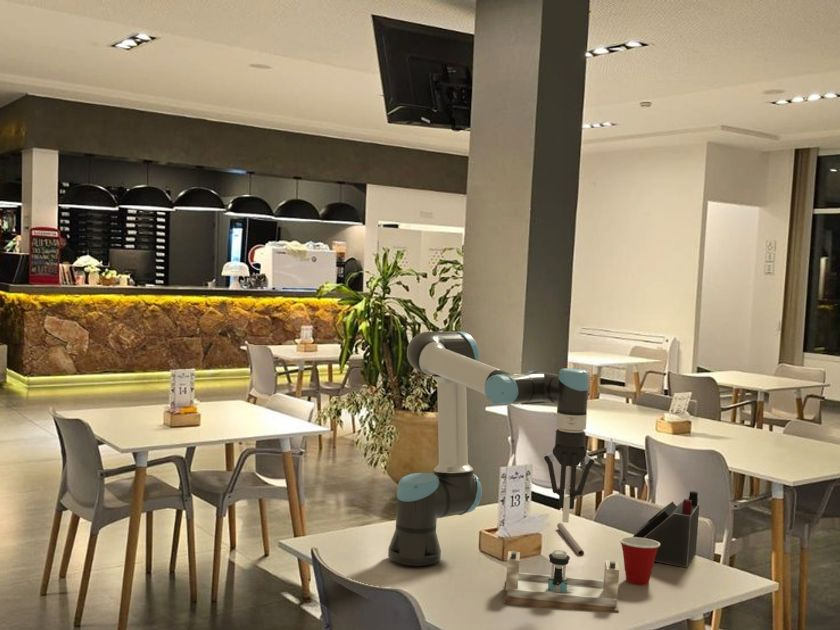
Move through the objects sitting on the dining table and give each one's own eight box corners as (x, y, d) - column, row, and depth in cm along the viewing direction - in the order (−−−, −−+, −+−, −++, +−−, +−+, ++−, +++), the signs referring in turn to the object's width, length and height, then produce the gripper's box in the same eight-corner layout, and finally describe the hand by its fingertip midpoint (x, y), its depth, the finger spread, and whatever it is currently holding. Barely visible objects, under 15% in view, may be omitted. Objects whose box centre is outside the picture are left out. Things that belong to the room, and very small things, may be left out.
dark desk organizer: (640, 546, 278) (645, 482, 276) (695, 556, 270) (700, 491, 269) (629, 561, 263) (633, 493, 262) (686, 572, 256) (691, 503, 255)
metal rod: (577, 556, 266) (578, 549, 266) (556, 528, 293) (557, 522, 293) (583, 556, 266) (584, 550, 266) (562, 529, 293) (563, 523, 293)
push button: (572, 588, 233) (574, 550, 233) (573, 595, 228) (575, 557, 228) (546, 585, 234) (548, 548, 234) (547, 593, 229) (549, 554, 228)
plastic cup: (653, 578, 249) (656, 535, 249) (661, 592, 239) (664, 547, 238) (614, 575, 250) (616, 532, 249) (619, 589, 239) (622, 544, 239)
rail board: (504, 603, 225) (506, 561, 224) (507, 580, 241) (509, 540, 241) (618, 615, 221) (621, 572, 220) (613, 590, 238) (615, 550, 237)
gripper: (545, 430, 226) (539, 522, 227) (597, 434, 224) (592, 527, 225) (544, 425, 233) (539, 514, 235) (595, 429, 231) (590, 519, 233)
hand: (565, 520), depth 230 cm, fingers closed
